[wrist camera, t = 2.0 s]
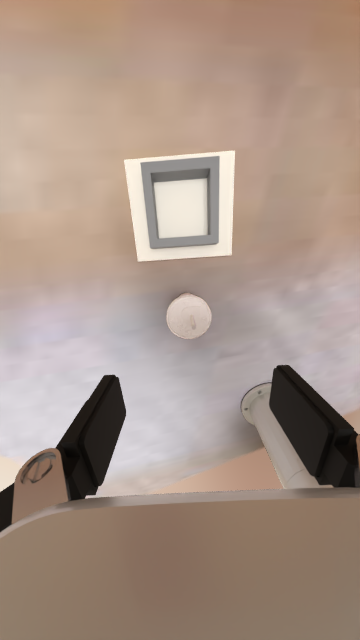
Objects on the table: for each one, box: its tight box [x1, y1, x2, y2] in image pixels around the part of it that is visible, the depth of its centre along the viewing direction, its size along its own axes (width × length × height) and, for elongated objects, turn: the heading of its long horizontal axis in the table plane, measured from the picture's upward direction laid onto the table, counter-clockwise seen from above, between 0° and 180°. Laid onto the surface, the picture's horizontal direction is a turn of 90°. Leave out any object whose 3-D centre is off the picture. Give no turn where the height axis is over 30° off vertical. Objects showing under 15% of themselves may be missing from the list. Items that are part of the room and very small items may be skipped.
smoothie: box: [166, 293, 211, 339], centre depth 26 cm, size 6×6×14 cm
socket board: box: [124, 151, 235, 262], centre depth 26 cm, size 16×14×4 cm
